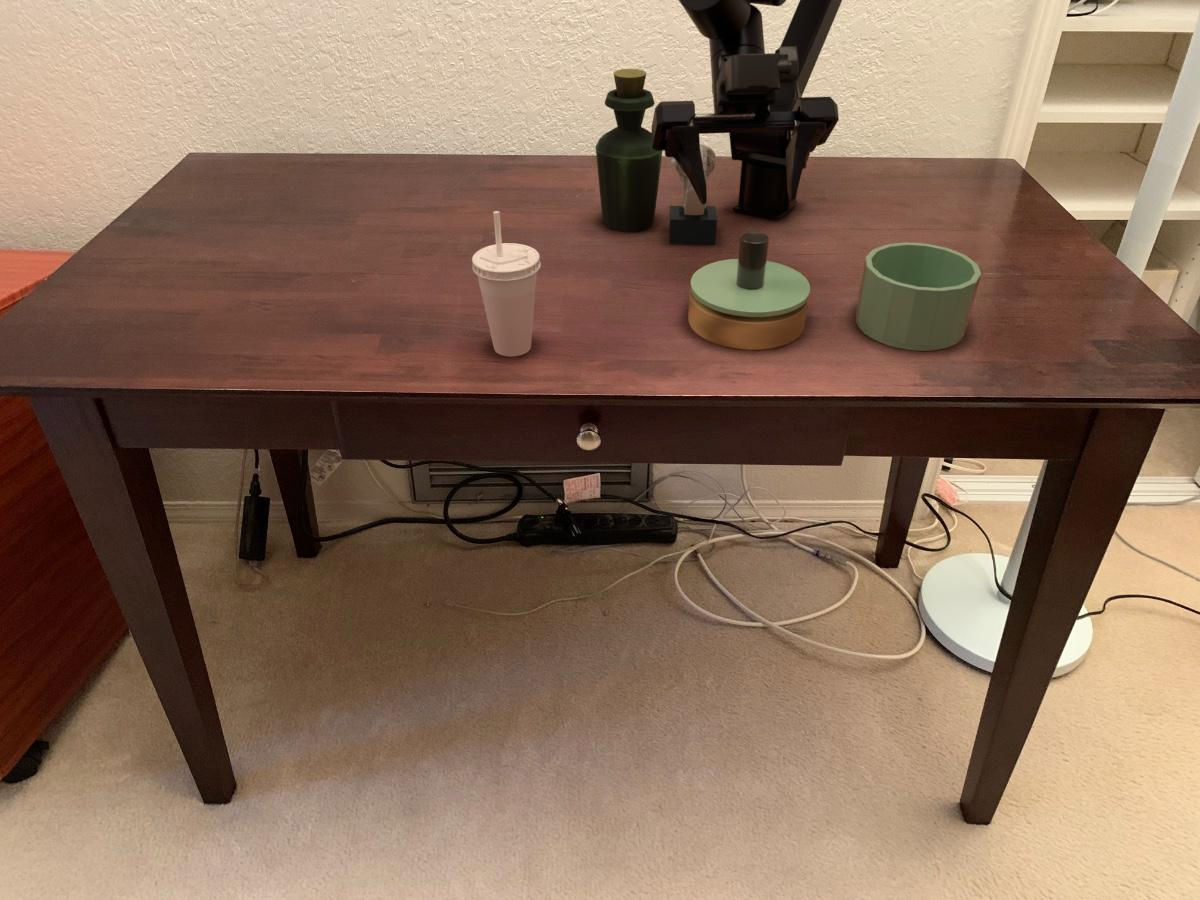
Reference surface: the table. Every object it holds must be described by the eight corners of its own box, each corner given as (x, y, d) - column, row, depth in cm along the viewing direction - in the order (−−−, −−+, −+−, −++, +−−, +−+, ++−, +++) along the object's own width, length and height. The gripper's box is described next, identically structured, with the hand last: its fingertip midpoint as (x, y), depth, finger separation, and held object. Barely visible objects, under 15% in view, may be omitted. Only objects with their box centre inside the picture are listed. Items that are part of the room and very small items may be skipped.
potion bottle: (583, 220, 116) (580, 72, 105) (630, 204, 120) (632, 60, 109) (626, 240, 111) (627, 86, 100) (673, 222, 115) (680, 73, 104)
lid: (669, 303, 91) (671, 245, 87) (721, 259, 99) (725, 205, 95) (780, 334, 86) (788, 274, 82) (826, 285, 94) (835, 228, 90)
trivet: (667, 330, 93) (668, 304, 91) (718, 284, 101) (720, 259, 99) (777, 361, 88) (780, 334, 86) (821, 311, 96) (826, 285, 94)
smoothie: (480, 332, 93) (468, 200, 84) (543, 329, 93) (537, 197, 85) (479, 365, 87) (465, 227, 79) (546, 361, 88) (539, 224, 80)
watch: (712, 224, 114) (719, 136, 108) (716, 250, 108) (722, 159, 101) (668, 223, 115) (671, 135, 108) (668, 250, 108) (672, 158, 102)
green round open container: (840, 333, 92) (850, 273, 88) (874, 291, 99) (885, 234, 95) (948, 361, 87) (964, 300, 83) (976, 315, 95) (991, 257, 91)
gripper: (657, 16, 88) (667, 169, 85) (848, 11, 88) (862, 163, 86) (647, 79, 99) (655, 216, 96) (817, 74, 99) (829, 210, 97)
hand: (748, 201), depth 94 cm, fingers open, 9 cm apart
